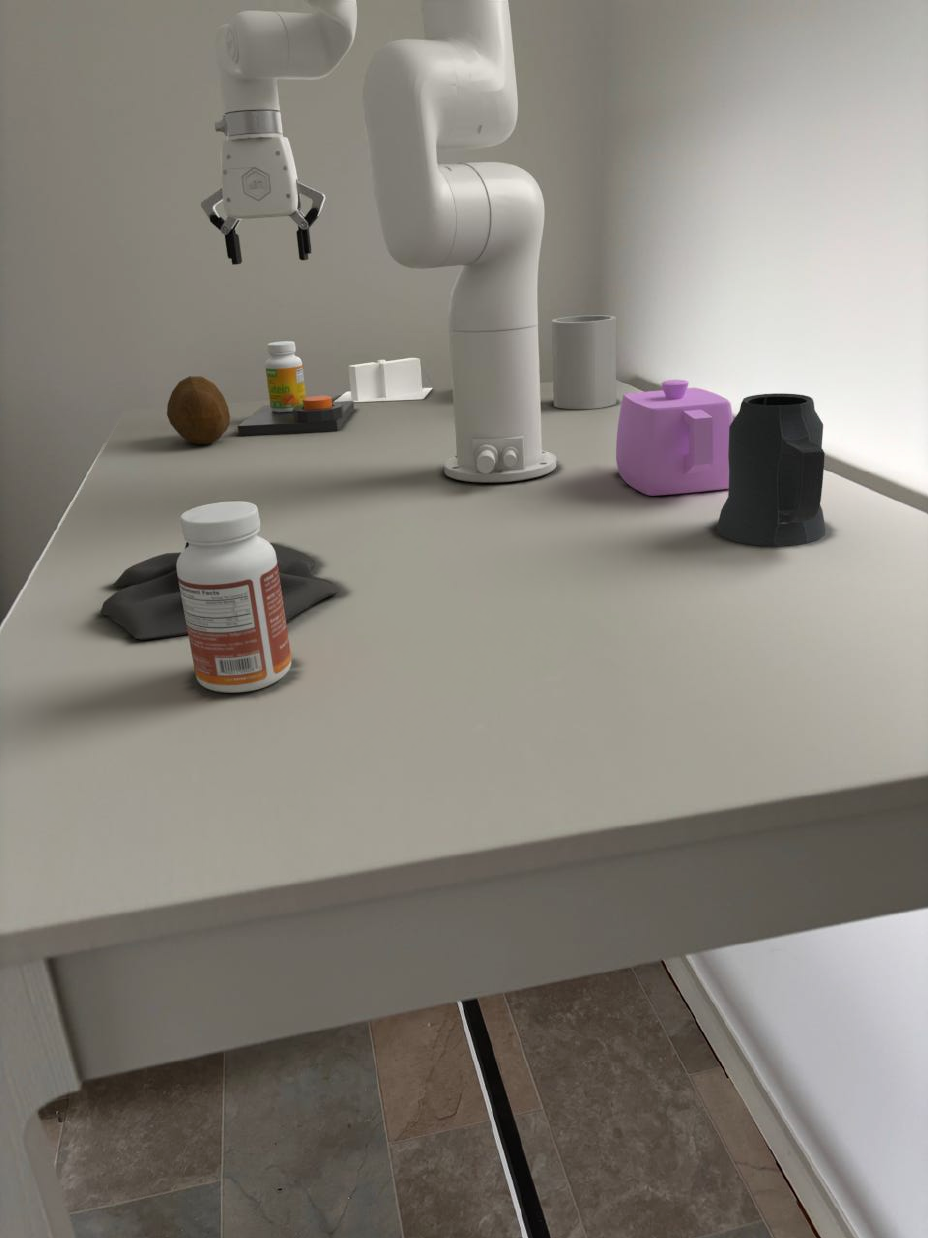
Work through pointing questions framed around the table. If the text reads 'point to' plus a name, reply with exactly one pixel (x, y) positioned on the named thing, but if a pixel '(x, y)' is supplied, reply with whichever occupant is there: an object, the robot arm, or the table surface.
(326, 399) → the button
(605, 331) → the cup
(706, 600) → the table surface
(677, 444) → the teapot
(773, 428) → the mug
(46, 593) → the table surface
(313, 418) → the dark grey button base
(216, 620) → the pill bottle
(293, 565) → the cloth
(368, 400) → the napkin holder
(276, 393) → the supplement bottle
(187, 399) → the potato
